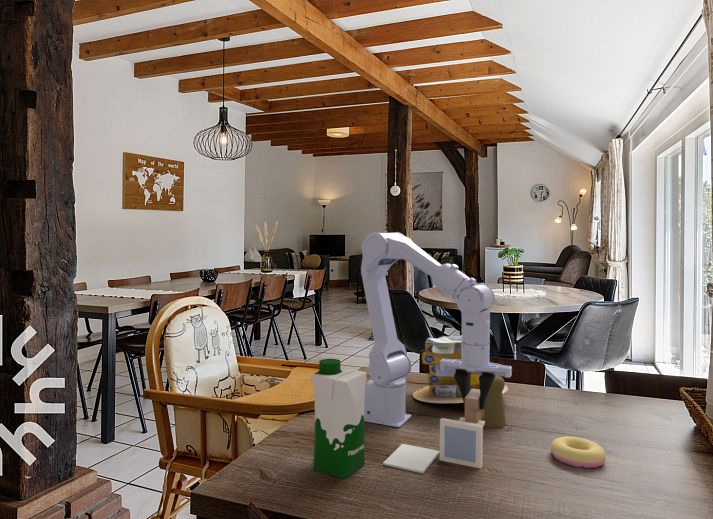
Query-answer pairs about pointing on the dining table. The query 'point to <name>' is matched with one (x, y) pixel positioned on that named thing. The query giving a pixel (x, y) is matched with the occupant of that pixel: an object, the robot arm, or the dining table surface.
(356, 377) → the milk carton
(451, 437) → the tile
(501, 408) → the cork
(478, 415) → the tan blocky piece
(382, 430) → the dining table surface
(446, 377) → the stacked yellow boxes plate
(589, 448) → the donut
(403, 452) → the plate
